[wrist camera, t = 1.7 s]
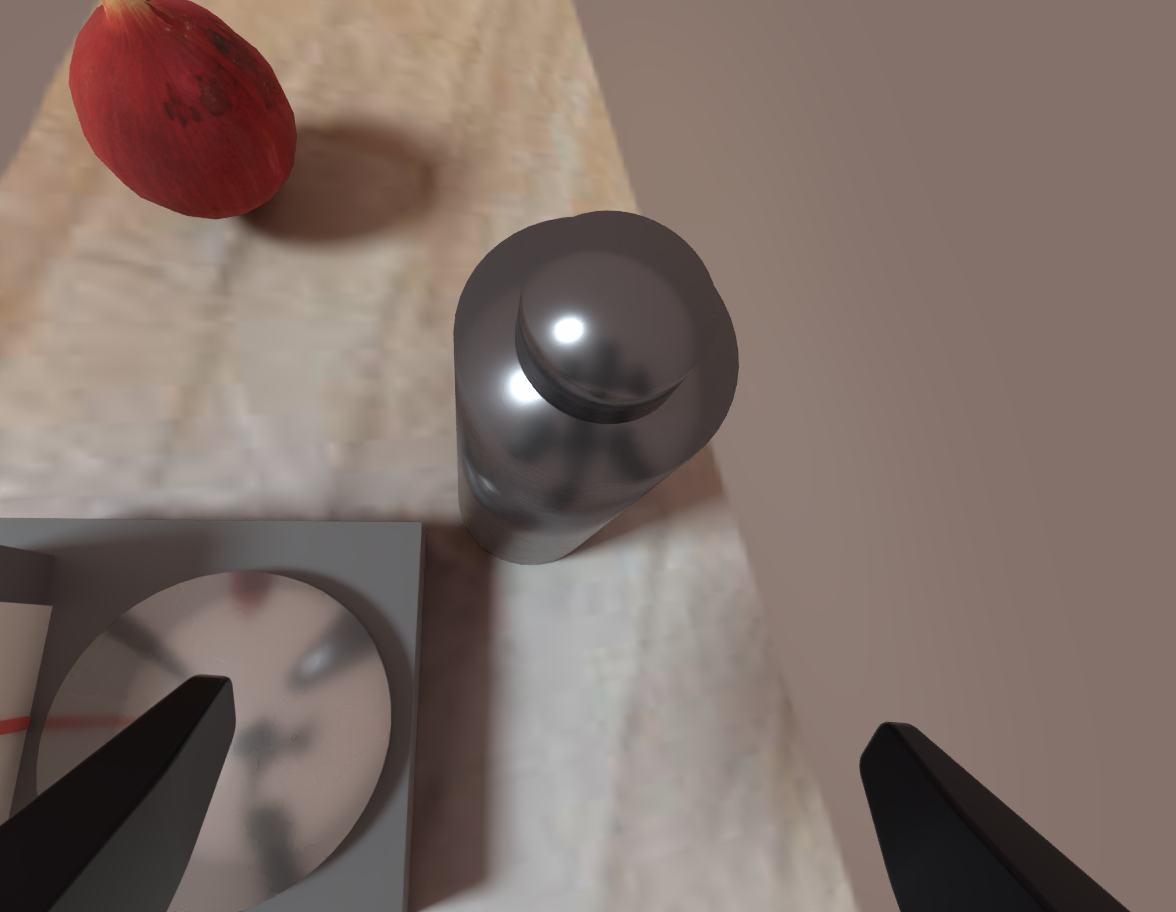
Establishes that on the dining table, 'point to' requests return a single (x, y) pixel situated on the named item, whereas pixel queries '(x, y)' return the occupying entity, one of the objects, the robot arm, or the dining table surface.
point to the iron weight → (582, 378)
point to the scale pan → (244, 722)
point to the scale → (200, 548)
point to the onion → (181, 107)
